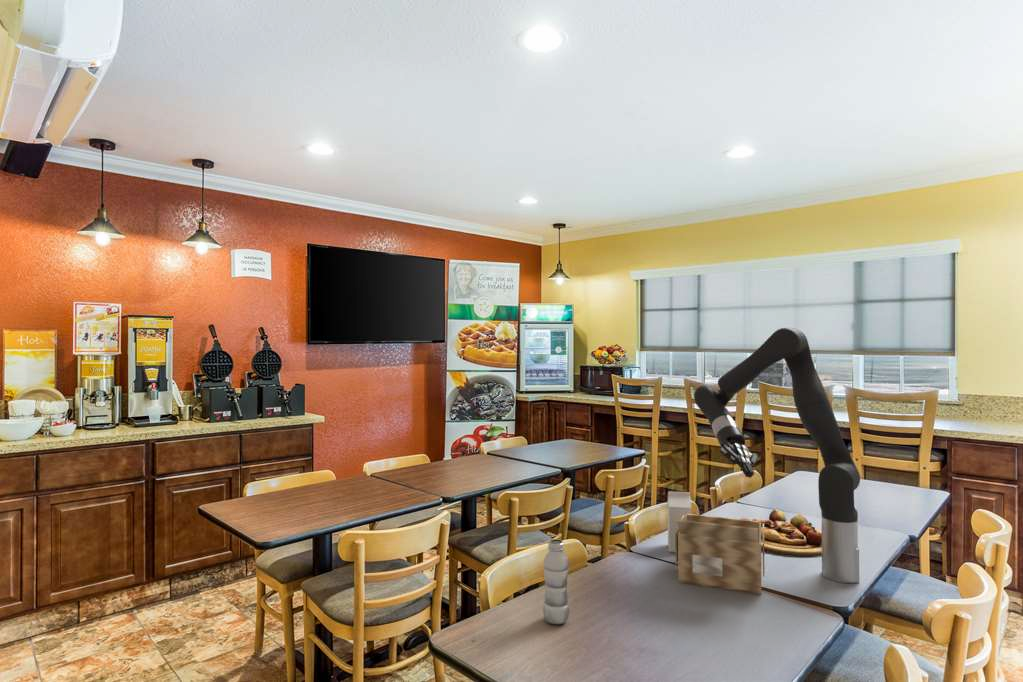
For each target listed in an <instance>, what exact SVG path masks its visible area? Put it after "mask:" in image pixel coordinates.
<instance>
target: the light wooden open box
mask: <svg viewBox="0 0 1023 682" xmlns="http://www.w3.org/2000/svg"><path fill="white" fill-rule="evenodd" d="M681 520H686V521H696V522H705V523H714V524H723V525H732V526H741V527H750V528H758V543H753V542H745V541H736V540H728V539H720V538H711V537H703V536H694V535H686V534H680V532H679V529H678V528H677V531H676V533H675V552H674V553H675V555H674V556H675V565H677V573H678V574H677V581H678V583H680V584H688V585H695V586H700V587H707V588H708V587H709V588H714V589H720V590H721V589H722V590H728V591H734V592H741V593H747V594H752V595H753V594H754V595H760V596H761V595H762V577H765V551H764V523H763V551H762V550H761V522H759V521H752V520H753V519H752V520H751V519H748V520H743V519H741V518H731V517H723V516H722V517H721V516H715V515H714V516H713V515H712V516H711V515H705V514H704V515H703V514H694V513H693V514H692V513H691V514H686V515H683V517H682V519H681Z"/></svg>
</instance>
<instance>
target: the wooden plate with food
mask: <svg viewBox="0 0 1023 682" xmlns="http://www.w3.org/2000/svg"><path fill="white" fill-rule="evenodd" d="M740 519H743V520H749V519H748V518H745V517H741V518H740ZM752 521H759V522H761V552H763V523H764V553H765V552H766V553H769V554H774V555H779V556H780V555H781V556H786V557H794V558H795V557H796V558H797V557H798V558H799V557H800V558H814V557H822V530H819V529H817V528H816V527H815V526H813V524H812V523H811V522H810V521H808V519H807V518H806V517H805V516H803V515H802V514H797V515H794V516H793V517H792V518H790V521H787V518H786V515H785V514H784V513H783V511H781V510H779V509H778V508H777V509H773V510H772V511H771V512H770V513H769V516H768V519H761V518H760V519H759V518H754V519H752Z"/></svg>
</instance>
